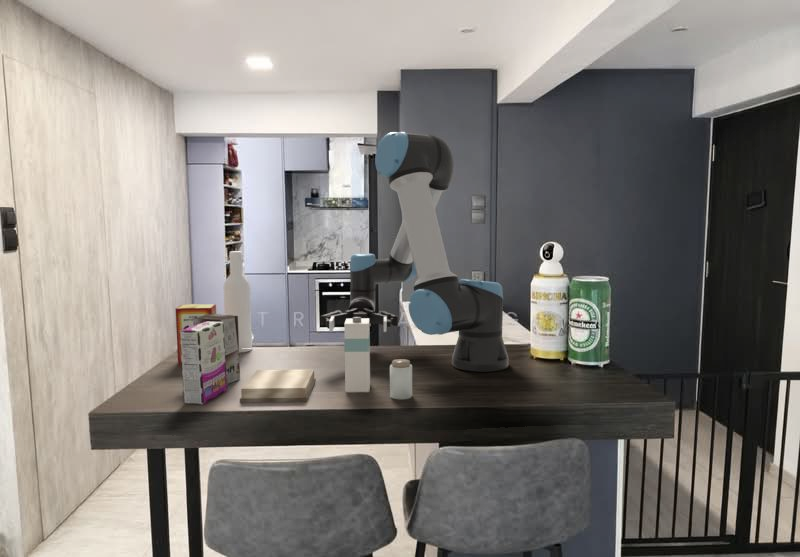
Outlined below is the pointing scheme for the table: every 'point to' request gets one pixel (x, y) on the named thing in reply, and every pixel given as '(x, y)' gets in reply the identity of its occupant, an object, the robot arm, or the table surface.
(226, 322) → the coffee box
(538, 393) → the table surface
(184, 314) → the baking soda box
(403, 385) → the ceramic jar
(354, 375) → the carton
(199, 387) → the candy bar box
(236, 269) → the bottle
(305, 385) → the podium
